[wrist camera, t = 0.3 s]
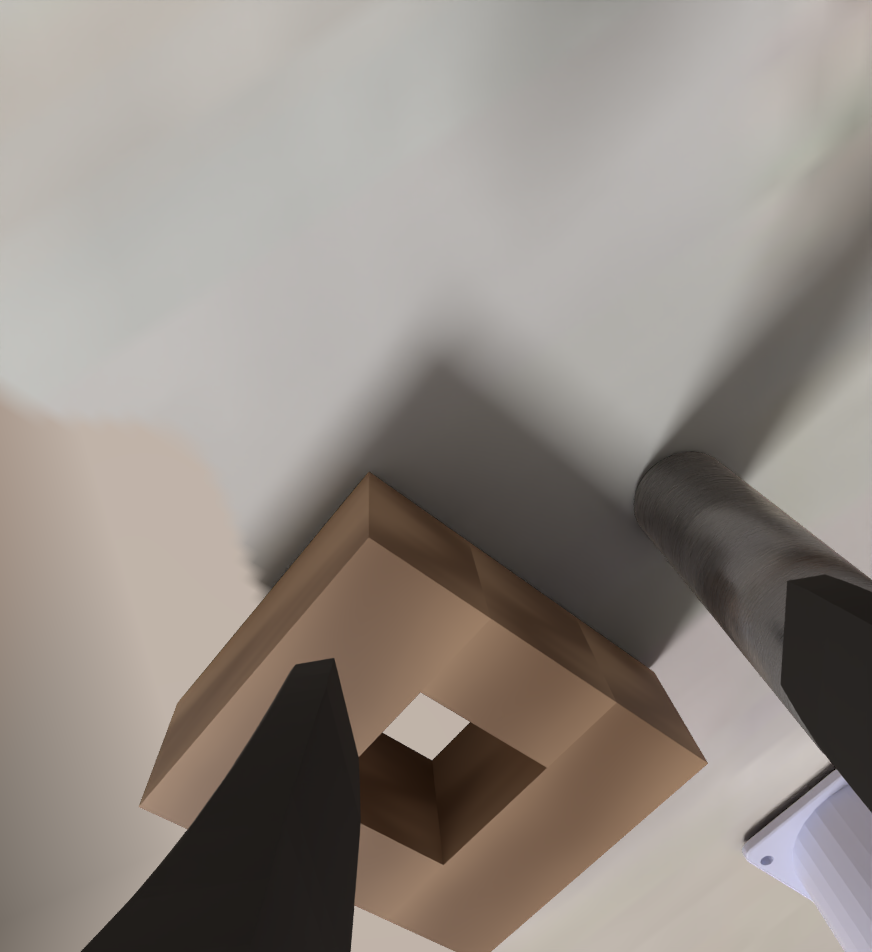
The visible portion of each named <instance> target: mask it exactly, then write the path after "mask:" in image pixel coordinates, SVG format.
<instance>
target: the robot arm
mask: <svg viewBox="0 0 872 952" xmlns="http://www.w3.org/2000/svg"><path fill="white" fill-rule="evenodd" d="M780 685H781V686H782V688H783V690H784V692H785V693H786V695H787V697H788V698H789V700H790V702H791V703H792V705H793V707H794V709H795V710H796V712H797V714H798V715H799V717H800V719H801V720H802V722H803V723H804V725H805V726H806V728H807V730H808V731H809V733H810V734H811V736H812V738H813V739H814V741H815V742H816V743H817V745H818V746H819V747H820V749H821V750H822V751H823V753H824V754H825V755H826V756H827V758H828V759H829V760H830V762H831V763H832V764H833V765H834V767H835V768H836V769H835V770H834V771H833V772H832V773H830V774H829V775H828V776H827V777H825V778H824V779H823V780H822V781H821V782H819V783H818V784H817V785H816V786H814V787H813V788H812V789H811V790H809V791H808V792H807V793H806V794H805V795H803V796H802V797H801V798H800V799H798V800H797V801H796V802H795V803H794V804H792V805H791V806H790V807H789V808H787V809H786V810H785V811H784V812H782V813H781V814H780V815H779V816H778V817H776V818H775V819H774V820H773V821H771V822H770V823H769V824H768V825H766V826H765V827H764V828H763V829H762V830H760V831H759V832H758V833H757V834H755V835H754V836H753V837H752V838H751V839H749V840H748V841H747V842H746V843H745V844H744V845H743V848H742V853H743V855H744V856H745V858H746V860H747V861H748V862H749V863H751V864H753V865H754V866H756V867H757V868H759V869H761V870H762V871H764V872H766V873H767V874H769V875H770V876H772V877H774V878H775V879H777V880H779V881H780V882H782V883H783V884H785V885H787V886H788V887H790V888H792V889H793V890H795V891H796V892H798V893H800V894H801V895H803V896H805V897H806V898H808V899H809V900H811V901H813V902H814V903H815V905H816V907H817V908H818V910H819V911H820V913H821V915H822V916H823V918H824V919H825V921H826V923H827V924H828V926H829V927H830V929H831V931H832V932H833V934H834V935H835V937H836V939H837V940H838V942H839V943H840V945H841V947H842V948H843V950H844V951H845V952H872V592H871V591H868V590H866V589H863V588H861V587H858V586H856V585H853V584H851V583H848V582H846V581H843V580H840V579H837V578H834V577H832V576H829V575H826V574H824V575H818V576H812V577H806V578H800V579H795V580H789V581H787V591H786V606H785V622H784V637H783V652H782V668H781V683H780ZM360 826H361V809H360V776H359V756H358V752H357V748H356V744H355V740H354V736H353V732H352V728H351V724H350V720H349V716H348V712H347V707H346V703H345V699H344V695H343V691H342V687H341V683H340V679H339V675H338V671H337V667H336V662H335V658H330V659H324V660H318V661H312V662H307V663H301V664H296V665H295V666H294V667H293V668H292V670H291V671H290V672H289V674H288V676H287V678H286V679H285V681H284V683H283V685H282V686H281V688H280V690H279V692H278V693H277V695H276V697H275V698H274V700H273V702H272V704H271V705H270V707H269V709H268V710H267V712H266V714H265V715H264V717H263V719H262V720H261V722H260V724H259V725H258V727H257V729H256V730H255V732H254V733H253V735H252V737H251V738H250V740H249V741H248V743H247V744H246V746H245V747H244V749H243V751H242V752H241V754H240V755H239V757H238V758H237V760H236V761H235V763H234V765H233V766H232V768H231V769H230V771H229V772H228V774H227V775H226V777H225V778H224V780H223V781H222V782H221V784H220V785H219V787H218V788H217V789H216V791H215V792H214V793H213V795H212V796H211V798H210V799H209V800H208V802H207V803H206V805H205V806H204V807H203V809H202V810H201V812H200V813H199V814H198V816H197V817H196V819H195V820H194V821H193V823H192V824H191V825H190V827H189V828H188V829H187V831H186V832H185V834H184V835H183V836H182V837H181V839H180V840H179V841H178V842H177V844H176V845H175V846H174V848H173V849H172V850H171V851H170V853H169V854H168V855H167V856H166V857H165V859H164V860H163V861H162V862H161V864H160V865H159V866H158V867H157V869H156V870H155V871H154V872H153V873H152V874H151V876H150V877H149V878H148V879H147V880H146V882H145V883H144V884H143V885H142V886H141V888H140V889H139V890H138V891H137V892H136V893H135V894H134V896H133V897H132V898H131V899H130V900H129V901H128V902H127V903H126V904H125V905H124V907H123V908H122V909H121V910H120V911H119V912H118V913H117V914H116V915H115V916H114V917H113V918H112V919H111V920H110V921H109V922H108V923H107V925H106V926H105V927H104V928H103V929H102V930H101V931H100V932H99V933H98V934H97V935H96V936H95V937H94V938H93V940H91V941H90V942H89V944H88V945H87V946H86V947H85V948H84V949H83V950H82V951H81V952H350V951H351V939H352V927H353V915H354V903H355V891H356V878H357V866H358V853H359V840H360Z"/></svg>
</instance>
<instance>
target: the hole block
mask: <svg viewBox="0 0 872 952" xmlns="http://www.w3.org/2000/svg"><path fill="white" fill-rule="evenodd" d="M330 658H335V662H336V667H337V671H338V675H339V679H340V683H341V687H342V691H343V695H344V699H345V703H346V707H347V712H348V716H349V720H350V724H351V728H352V732H353V736H354V740H355V744H356V748H357V752H358V756H359V776H360V809H361V826H360V840H359V853H358V866H357V878H356V891H355V903H354V905H355V906H357V907H359V908H361V909H363V910H366V911H368V912H370V913H372V914H375V915H377V916H379V917H381V918H383V919H385V920H388V921H390V922H392V923H394V924H396V925H399V926H401V927H403V928H405V929H407V930H409V931H412V932H414V933H416V934H418V935H420V936H423V937H425V938H427V939H429V940H431V941H433V942H436V943H438V944H440V945H442V946H445V947H447V948H449V949H451V950H453V951H456V952H491V951H492V950H494V949H495V948H496V947H497V946H498V945H499V944H500V943H502V942H503V941H504V940H505V939H506V938H507V937H508V936H510V935H511V934H512V933H513V932H514V931H515V930H517V929H518V928H519V927H520V926H521V925H522V924H523V923H525V922H526V921H527V920H528V919H529V918H530V917H532V916H533V915H534V914H535V913H536V912H537V911H538V910H540V909H541V908H542V907H543V906H544V905H545V904H547V903H548V902H549V901H550V900H551V899H552V898H553V897H555V896H556V895H557V894H558V893H559V892H560V891H561V890H563V889H564V888H565V887H566V886H567V885H568V884H570V883H571V882H572V881H573V880H574V879H575V878H576V877H578V876H579V875H580V874H581V873H582V872H583V871H585V870H586V869H587V868H588V867H589V866H590V865H591V864H593V863H594V862H595V861H596V860H597V859H598V858H600V857H601V856H602V855H603V854H604V853H605V852H606V851H608V850H609V849H610V848H611V847H612V846H613V845H615V844H616V843H617V842H618V841H619V840H620V839H621V838H623V837H624V836H625V835H626V834H627V833H628V832H629V831H631V830H632V829H633V828H634V827H635V826H636V825H638V824H639V823H640V822H641V821H642V820H643V819H644V818H646V817H647V816H648V815H649V814H650V813H651V812H653V811H654V810H655V809H656V808H657V807H658V806H659V805H661V804H662V803H663V802H664V801H665V800H666V799H668V798H669V797H670V796H671V795H672V794H673V793H674V792H676V791H677V790H678V789H679V788H680V787H681V786H683V785H684V784H685V783H686V782H687V781H688V780H689V779H691V778H692V777H693V776H694V775H695V774H696V773H697V772H699V771H700V770H701V769H702V768H703V767H704V766H706V765H707V764H708V763H707V761H706V759H705V758H704V756H703V754H702V752H701V751H700V749H699V747H698V746H697V744H696V742H695V741H694V739H693V737H692V735H691V734H690V732H689V730H688V729H687V727H686V725H685V724H684V722H683V720H682V719H681V717H680V715H679V713H678V712H677V710H676V708H675V707H674V705H673V703H672V702H671V700H670V698H669V697H668V695H667V693H666V691H665V690H664V688H663V686H662V685H661V683H660V681H659V680H658V678H657V676H656V675H655V673H654V672H653V671H652V670H650V669H649V668H647V667H646V666H645V665H643V664H642V663H640V662H639V661H637V660H636V659H635V658H633V657H632V656H630V655H629V654H628V653H626V652H625V651H623V650H622V649H620V648H619V647H618V646H616V645H615V644H613V643H612V642H610V641H609V640H608V639H606V638H605V637H603V636H602V635H601V634H599V633H598V632H596V631H595V630H593V629H592V628H591V627H589V626H588V625H586V624H585V623H583V622H582V621H581V620H579V619H578V618H576V617H575V616H573V615H572V614H571V613H569V612H568V611H566V610H565V609H564V608H562V607H561V606H559V605H558V604H556V603H555V602H554V601H552V600H551V599H549V598H548V597H546V596H545V595H544V594H542V593H541V592H539V591H538V590H537V589H535V588H534V587H532V586H531V585H529V584H528V583H527V582H525V581H524V580H522V579H521V578H519V577H518V576H517V575H515V574H514V573H512V572H511V571H509V570H508V569H507V568H505V567H504V566H502V565H501V564H500V563H498V562H497V561H495V560H494V559H492V558H491V557H490V556H488V555H487V554H485V553H484V552H482V551H481V550H480V549H478V548H477V547H475V546H474V545H473V544H471V543H470V542H468V541H467V540H465V539H464V538H463V537H461V536H460V535H458V534H457V533H455V532H454V531H453V530H451V529H450V528H448V527H447V526H446V525H444V524H443V523H441V522H440V521H438V520H437V519H436V518H434V517H433V516H431V515H430V514H428V513H427V512H426V511H424V510H423V509H421V508H420V507H418V506H417V505H416V504H414V503H413V502H411V501H410V500H409V499H407V498H406V497H404V496H403V495H401V494H400V493H399V492H397V491H396V490H394V489H393V488H391V487H390V486H389V485H387V484H386V483H384V482H383V481H382V480H380V479H379V478H377V477H376V476H374V475H373V474H372V473H370V472H368V473H367V474H366V476H365V477H364V478H363V479H362V481H361V482H360V483H359V484H358V485H357V487H356V488H355V489H354V490H353V491H352V493H351V494H350V495H349V496H348V497H347V499H346V500H345V501H344V502H343V503H342V505H341V506H340V507H339V508H338V510H337V511H336V512H335V513H334V514H333V516H332V517H331V518H330V519H329V520H328V522H327V523H326V524H325V525H324V526H323V528H322V529H321V530H320V531H319V533H318V534H317V535H316V536H315V537H314V539H313V540H312V541H311V542H310V543H309V545H308V546H307V547H306V548H305V549H304V551H303V552H302V553H301V554H300V555H299V557H298V558H297V559H296V560H295V562H294V563H293V564H292V565H291V566H290V568H289V569H288V570H287V571H286V572H285V574H284V575H283V576H282V577H281V578H280V580H279V581H278V582H277V583H276V585H275V586H274V587H273V588H272V589H271V591H270V592H269V593H268V594H267V595H266V597H265V598H264V599H263V600H262V601H261V603H260V604H259V605H258V606H257V608H256V609H255V610H254V611H253V612H252V614H251V615H250V616H249V617H248V618H247V620H246V621H245V622H244V623H243V624H242V626H241V627H240V628H239V629H238V630H237V632H236V633H235V634H234V635H233V637H232V638H231V639H230V640H229V641H228V643H227V644H226V645H225V646H224V647H223V649H222V650H221V651H220V652H219V653H218V655H217V656H216V657H215V658H214V660H213V661H212V662H211V663H210V664H209V666H208V667H207V668H206V669H205V670H204V672H203V673H202V674H201V675H200V676H199V678H198V679H197V680H196V681H195V682H194V684H193V685H192V686H191V687H190V689H189V690H188V691H187V692H186V693H185V695H184V696H183V697H182V698H181V699H180V701H179V702H178V704H177V706H176V708H175V711H174V714H173V716H172V719H171V722H170V724H169V727H168V730H167V732H166V735H165V738H164V741H163V743H162V746H161V749H160V751H159V754H158V756H157V759H156V762H155V765H154V767H153V770H152V773H151V775H150V778H149V781H148V783H147V786H146V789H145V791H144V794H143V797H142V799H141V802H140V805H139V807H140V808H142V809H144V810H147V811H149V812H151V813H153V814H156V815H158V816H160V817H162V818H164V819H166V820H169V821H171V822H173V823H175V824H177V825H180V826H182V827H184V828H186V829H188V828H189V827H190V825H191V824H192V823H193V821H194V820H195V819H196V817H197V816H198V814H199V813H200V812H201V810H202V809H203V807H204V806H205V805H206V803H207V802H208V800H209V799H210V798H211V796H212V795H213V793H214V792H215V791H216V789H217V788H218V787H219V785H220V784H221V782H222V781H223V780H224V778H225V777H226V775H227V774H228V772H229V771H230V769H231V768H232V766H233V765H234V763H235V761H236V760H237V758H238V757H239V755H240V754H241V752H242V751H243V749H244V747H245V746H246V744H247V743H248V741H249V740H250V738H251V737H252V735H253V733H254V732H255V730H256V729H257V727H258V725H259V724H260V722H261V720H262V719H263V717H264V715H265V714H266V712H267V710H268V709H269V707H270V705H271V704H272V702H273V700H274V698H275V697H276V695H277V693H278V692H279V690H280V688H281V686H282V685H283V683H284V681H285V679H286V678H287V676H288V674H289V672H290V671H291V670H292V668H293V667H294V666H295V665H296V664H301V663H307V662H312V661H318V660H324V659H330ZM420 692H421V693H423V694H424V695H426V696H428V697H429V698H431V699H433V700H435V701H436V702H438V703H440V704H441V705H443V706H444V707H446V708H448V709H450V710H451V711H453V712H455V713H456V714H458V715H460V716H461V717H463V718H465V719H466V720H468V721H470V723H469V724H468V725H467V726H466V727H465V728H464V729H463V730H462V731H461V732H460V733H459V734H458V735H457V736H456V737H455V738H454V739H453V740H452V741H451V742H450V743H449V744H448V745H447V746H446V747H445V748H444V749H443V750H442V751H441V752H440V753H439V754H438V755H437V756H436V757H435V758H434V759H433V760H430V759H428V758H426V757H425V756H423V755H421V754H419V753H418V752H416V751H414V750H412V749H410V748H409V747H407V746H405V745H403V744H402V743H400V742H398V741H396V740H394V739H393V738H391V737H389V736H387V735H385V734H384V733H382V732H383V731H384V730H385V729H386V728H387V727H388V726H389V725H390V724H391V723H392V721H394V719H395V718H396V717H397V716H398V715H399V714H400V713H401V712H402V711H403V710H404V709H405V708H406V707H407V706H408V705H409V704H410V703H411V702H412V701H413V700H414V699H415V697H416V696H417V695H418V694H419V693H420Z"/></svg>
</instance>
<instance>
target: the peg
mask: <svg viewBox="0 0 872 952" xmlns="http://www.w3.org/2000/svg"><path fill="white" fill-rule="evenodd" d="M634 512H635V517H636V519H637V522H638V524H639V525H640V527H641V528H642V529H643V531H644V532H645V533H646V534H647V536H648V537H649V538H650V539H651V541H652V542H653V543H654V544H655V545H656V547H657V548H658V549H659V550H660V552H661V553H662V554H663V555H664V557H665V558H666V559H667V560H668V562H669V563H670V564H671V565H672V567H673V568H674V569H675V570H676V572H677V573H678V574H679V575H680V577H681V578H682V579H683V580H684V581H685V583H686V584H687V585H688V586H689V588H690V589H691V590H692V591H693V593H694V594H695V595H696V596H697V598H698V599H699V600H700V601H701V603H702V604H703V605H704V606H705V608H706V609H707V610H708V611H709V613H710V614H711V615H712V616H713V617H714V619H715V620H716V621H717V622H718V624H719V625H720V626H721V627H722V629H723V630H724V631H725V632H726V634H727V635H728V636H729V637H730V639H731V640H732V641H733V642H734V644H735V645H736V646H737V647H738V648H739V650H740V651H741V652H742V653H743V655H744V656H745V657H746V658H747V660H748V661H749V662H750V663H751V665H752V666H753V667H754V668H755V670H756V671H757V672H758V673H759V675H760V676H761V677H762V678H763V680H764V681H765V682H766V683H767V684H768V686H769V687H770V688H771V689H772V691H773V692H774V693H775V694H776V696H777V697H778V698H779V699H780V701H781V702H782V703H783V704H784V706H785V707H786V708H787V709H788V711H789V712H790V713H791V714H792V715H793V717H794V718H795V719H796V720H797V722H798V723H799V724H800V725H801V727H802V728H803V729H804V730H805V732H806V733H807V734H808V735H809V737H810V738H811V739H812V740H813V742H814V743H815V744H816V745H817V743H816V742H815V741H814V739H813V738H812V736H811V734H810V733H809V731H808V730H807V728H806V726H805V725H804V723H803V722H802V720H801V719H800V717H799V715H798V714H797V712H796V710H795V709H794V707H793V705H792V703H791V702H790V700H789V698H788V697H787V695H786V693H785V692H784V690H783V688H782V686H781V685H780V683H781V668H782V652H783V637H784V622H785V606H786V591H787V581H789V580H795V579H800V578H806V577H812V576H818V575H824V574H826V575H829V576H832V577H834V578H837V579H840V580H843V581H846V582H848V583H851V584H853V585H856V586H858V587H861V588H863V589H866V590H868V591H871V592H872V580H871V579H870V578H869V577H867V576H866V575H865V574H864V573H862V572H861V571H860V570H858V569H857V568H856V567H855V566H853V565H852V564H851V563H849V562H848V561H847V560H845V559H844V558H843V557H842V556H840V555H839V554H838V553H836V552H835V551H834V550H833V549H831V548H830V547H829V546H827V545H826V544H825V543H824V542H822V541H821V540H820V539H818V538H817V537H816V536H815V535H813V534H812V533H811V532H809V531H808V530H807V529H806V528H804V527H803V526H802V525H800V524H799V523H798V522H796V521H795V520H794V519H793V518H791V517H790V516H789V515H787V514H786V513H785V512H784V511H782V510H781V509H780V508H778V507H777V506H776V505H775V504H773V503H772V502H771V501H769V500H768V499H767V498H766V497H764V496H763V495H762V494H760V493H759V492H758V491H756V490H755V489H754V488H753V487H751V486H750V485H749V484H747V483H746V482H745V481H744V480H742V479H741V478H740V477H738V476H737V475H736V474H735V473H733V472H732V471H731V470H729V469H728V468H727V467H726V466H724V465H723V464H722V463H720V462H719V461H718V460H716V459H715V458H713V457H712V456H710V455H707V454H704V453H700V452H683V453H678V454H675V455H671V456H669V457H667V458H665V459H663V460H661V461H660V462H658V463H657V464H656V465H654V466H653V467H652V468H651V469H650V470H649V471H648V472H647V473H646V474H645V476H644V477H643V479H642V480H641V482H640V484H639V486H638V488H637V491H636V494H635V498H634ZM817 747H818V748H819V749H820V747H819V746H818V745H817ZM820 750H821V749H820ZM821 751H822V750H821ZM822 752H823V751H822Z"/></svg>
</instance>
